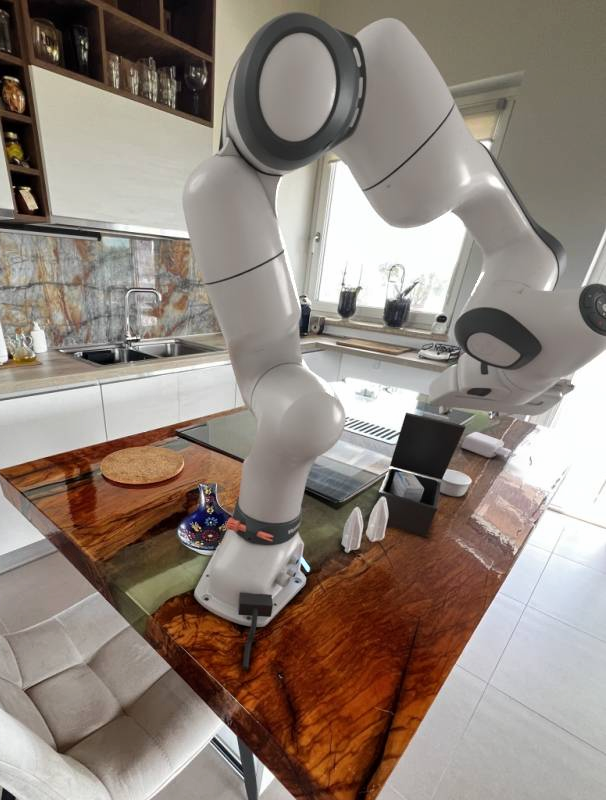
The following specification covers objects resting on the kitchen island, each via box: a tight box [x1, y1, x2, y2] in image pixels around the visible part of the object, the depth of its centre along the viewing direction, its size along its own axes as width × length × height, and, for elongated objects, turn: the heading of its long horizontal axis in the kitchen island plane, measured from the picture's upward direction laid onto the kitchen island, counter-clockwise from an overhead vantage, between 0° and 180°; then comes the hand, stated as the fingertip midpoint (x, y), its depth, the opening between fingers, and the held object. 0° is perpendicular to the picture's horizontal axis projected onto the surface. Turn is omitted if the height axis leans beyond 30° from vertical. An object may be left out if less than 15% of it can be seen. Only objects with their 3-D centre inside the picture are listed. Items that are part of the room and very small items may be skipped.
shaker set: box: [341, 497, 388, 553], centre depth 88 cm, size 12×4×11 cm, turn 116°
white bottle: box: [461, 431, 517, 459], centre depth 139 cm, size 5×9×15 cm
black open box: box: [373, 466, 441, 538], centre depth 101 cm, size 16×13×8 cm
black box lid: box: [389, 411, 467, 480], centre depth 99 cm, size 16×13×5 cm
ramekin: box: [435, 468, 473, 497], centre depth 114 cm, size 9×9×4 cm
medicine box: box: [389, 472, 424, 502], centre depth 100 cm, size 8×4×9 cm, turn 178°
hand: (467, 413), depth 79 cm, fingers open, 8 cm apart
